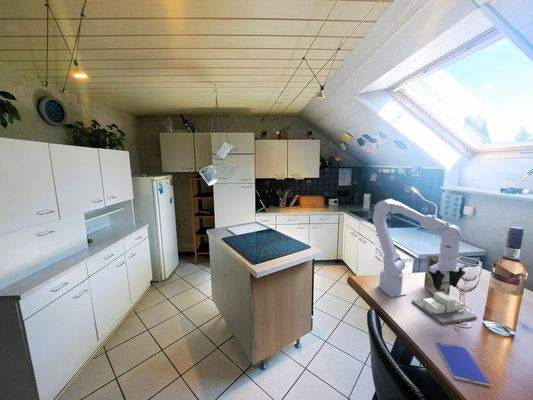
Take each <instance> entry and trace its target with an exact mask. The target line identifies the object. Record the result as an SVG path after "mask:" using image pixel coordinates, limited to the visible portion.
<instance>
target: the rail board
mask: <svg viewBox="0 0 533 400" xmlns="http://www.w3.org/2000/svg"><path fill="white" fill-rule="evenodd" d="M448 296H449V297H451V298H453V299H455V308H454V312H448V313H446V312H445V306H443V305H442V304H440V303H439V302H437V301H436V300H434V299H433V298H434V296H433V297H427V298H420V299H411V304H413V305H414V306H415V307H417V308H419V310H422V312H424V313H425V314H426V315H428V316H430V317H431V318H432V319H433V320H435V321H436V322H437V323H438V324H440V325H442V326H443V325H448V324H453V322H455V323H457V322H456V321H459V320H466V321H471V320H476V319H478V316H477V315H475V314H474V313H472V312H470V311H468V310H467V309H465V310H464V311H462V312H460V313H459V312H458V310H463V308H464V305H465V304H464V303H463V302H462V301H460V300H458V299H456V298H455V297H453V296H451V295H450V294H449V295H448Z"/></svg>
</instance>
